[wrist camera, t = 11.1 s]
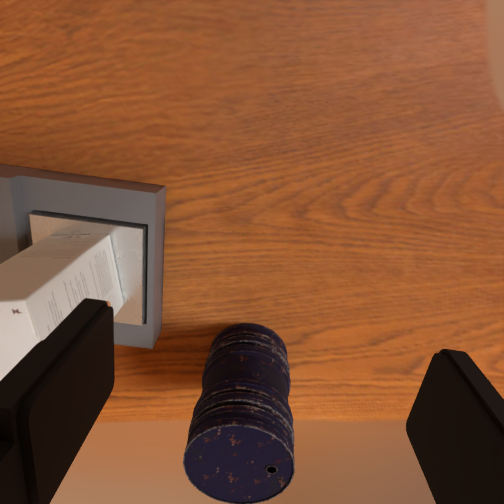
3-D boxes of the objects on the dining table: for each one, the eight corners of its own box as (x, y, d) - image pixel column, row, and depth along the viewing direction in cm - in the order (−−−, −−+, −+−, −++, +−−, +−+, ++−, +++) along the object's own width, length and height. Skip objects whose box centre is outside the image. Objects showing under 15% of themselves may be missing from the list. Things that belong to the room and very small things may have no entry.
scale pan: (47, 206, 37) (29, 214, 35) (152, 220, 37) (142, 229, 35) (56, 298, 41) (40, 312, 39) (150, 311, 42) (141, 325, 39)
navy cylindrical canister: (208, 383, 47) (181, 500, 33) (209, 319, 43) (180, 419, 29) (284, 390, 46) (290, 509, 33) (292, 325, 43) (302, 429, 29)
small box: (48, 234, 35) (-68, 300, 23) (110, 232, 35) (26, 298, 23) (67, 306, 38) (-27, 397, 26) (125, 305, 38) (57, 398, 26)
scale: (-12, 162, 37) (-52, 170, 33) (165, 185, 37) (151, 197, 33) (11, 311, 44) (-20, 335, 39) (161, 331, 44) (148, 357, 39)
